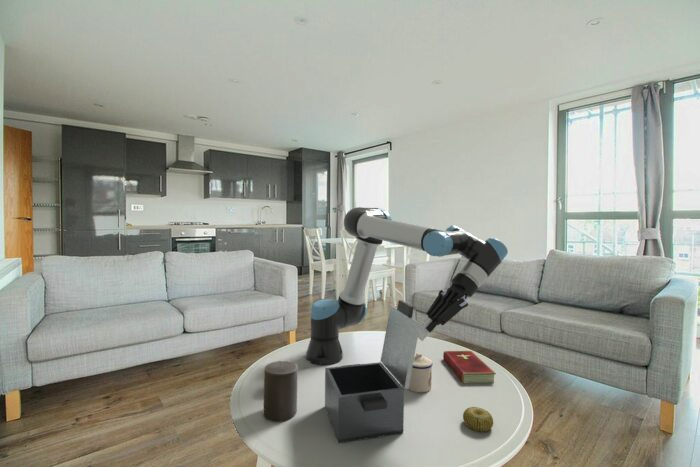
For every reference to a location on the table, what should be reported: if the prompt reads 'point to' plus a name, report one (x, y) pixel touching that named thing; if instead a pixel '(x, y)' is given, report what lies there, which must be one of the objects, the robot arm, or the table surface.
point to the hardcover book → (468, 367)
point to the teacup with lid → (421, 374)
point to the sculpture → (478, 419)
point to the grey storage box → (363, 402)
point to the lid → (400, 342)
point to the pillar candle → (280, 391)
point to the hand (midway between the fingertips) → (418, 337)
